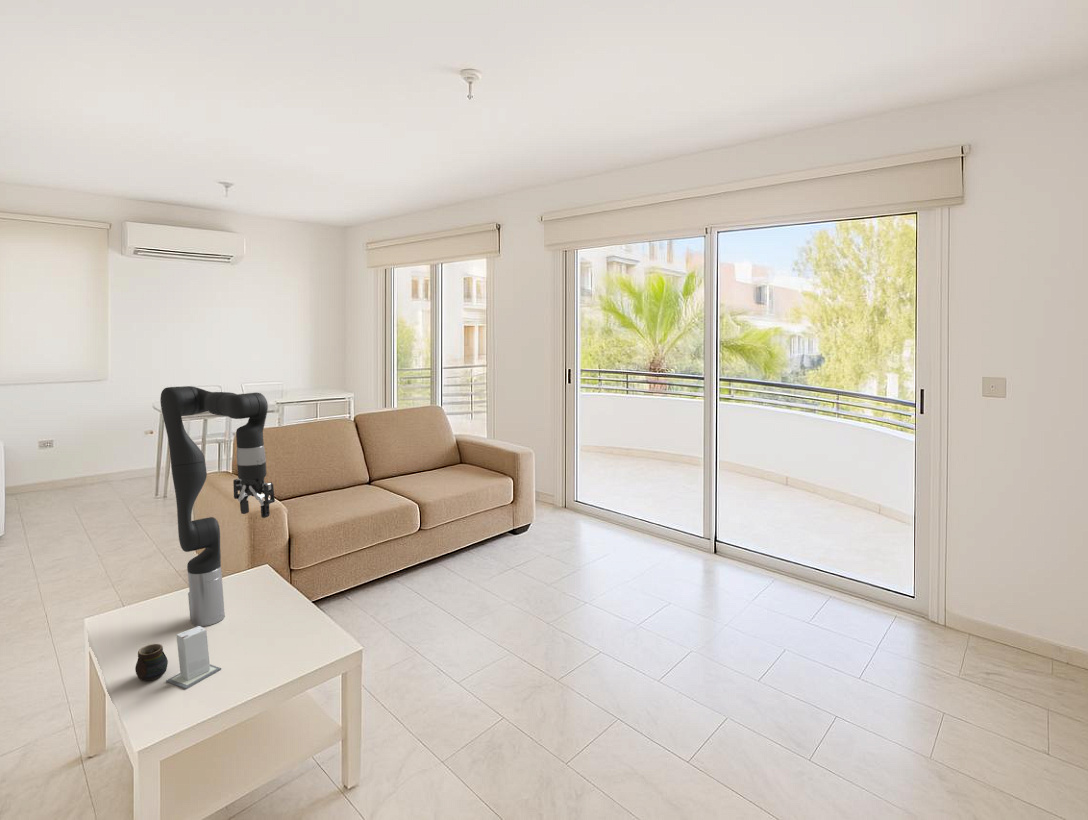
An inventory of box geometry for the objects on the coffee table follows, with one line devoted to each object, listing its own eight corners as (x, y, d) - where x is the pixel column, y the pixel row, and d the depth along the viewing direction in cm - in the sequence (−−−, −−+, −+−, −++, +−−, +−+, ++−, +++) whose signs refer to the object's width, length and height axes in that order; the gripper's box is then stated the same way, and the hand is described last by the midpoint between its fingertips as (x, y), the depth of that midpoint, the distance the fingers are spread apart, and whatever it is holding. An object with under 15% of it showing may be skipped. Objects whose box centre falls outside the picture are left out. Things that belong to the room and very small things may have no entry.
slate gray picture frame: (166, 681, 157) (166, 679, 157) (201, 662, 166) (201, 661, 166) (186, 689, 154) (185, 687, 154) (221, 669, 163) (221, 667, 163)
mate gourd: (163, 665, 165) (160, 632, 164) (173, 676, 160) (170, 641, 159) (132, 677, 160) (129, 642, 158) (142, 688, 155) (139, 652, 153)
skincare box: (203, 665, 164) (199, 624, 162) (211, 671, 162) (207, 629, 160) (179, 676, 159) (175, 633, 157) (187, 682, 157) (183, 638, 155)
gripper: (223, 461, 173) (227, 515, 175) (257, 466, 167) (261, 522, 169) (245, 456, 180) (249, 508, 182) (279, 461, 174) (283, 514, 176)
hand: (255, 515), depth 176 cm, fingers open, 8 cm apart
